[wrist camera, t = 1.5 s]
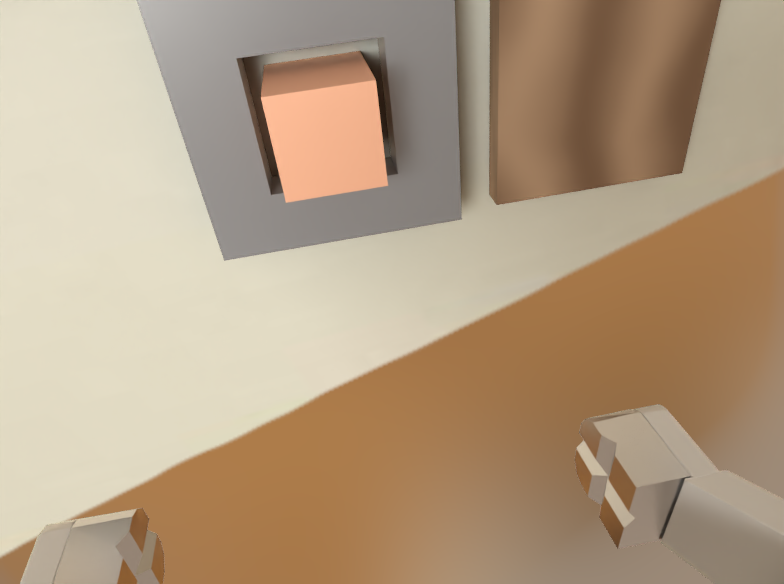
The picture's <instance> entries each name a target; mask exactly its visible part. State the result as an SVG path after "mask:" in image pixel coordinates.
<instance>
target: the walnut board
mask: <svg viewBox="0 0 784 584" xmlns="http://www.w3.org/2000/svg"><path fill="white" fill-rule="evenodd" d="M720 2H721V0H490V157H489V195H490V196H491V197H492V199H493V200H494V202H495V203H496V204H497V205H499V204H505V203H511V202H517V201H522V200H528V199H534V198H540V197H546V196H551V195H557V194H563V193H569V192H575V191H580V190H586V189H592V188H598V187H604V186H609V185H615V184H621V183H627V182H633V181H638V180H644V179H650V178H656V177H662V176H667V175H673V174H679V173H682V171H683V166H684V162H685V157H686V153H687V149H688V144H689V140H690V135H691V131H692V126H693V122H694V117H695V113H696V109H697V104H698V100H699V95H700V91H701V86H702V82H703V78H704V73H705V69H706V64H707V60H708V55H709V51H710V47H711V42H712V38H713V33H714V29H715V24H716V20H717V16H718V11H719V7H720Z"/></svg>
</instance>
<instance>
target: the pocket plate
mask: <svg viewBox="0 0 784 584" xmlns="http://www.w3.org/2000/svg"><path fill="white" fill-rule="evenodd" d="M137 3H138V6H139V9H140V12H141V15H142V18H143V21H144V24H145V27H146V30H147V32H148V35H149V38H150V41H151V44H152V47H153V50H154V53H155V56H156V59H157V62H158V65H159V68H160V71H161V74H162V77H163V80H164V83H165V86H166V89H167V92H168V95H169V98H170V101H171V104H172V107H173V110H174V113H175V116H176V119H177V121H178V124H179V127H180V130H181V133H182V136H183V139H184V142H185V145H186V148H187V151H188V154H189V157H190V160H191V163H192V166H193V169H194V172H195V175H196V178H197V181H198V184H199V187H200V190H201V193H202V196H203V199H204V202H205V205H206V208H207V210H208V213H209V216H210V219H211V222H212V225H213V228H214V231H215V234H216V237H217V240H218V243H219V246H220V249H221V252H222V255H223V258H224V261H225V260H230V259H236V258H242V257H248V256H253V255H259V254H265V253H271V252H276V251H282V250H288V249H294V248H299V247H305V246H311V245H317V244H322V243H328V242H334V241H340V240H345V239H351V238H357V237H363V236H369V235H374V234H380V233H386V232H392V231H397V230H403V229H409V228H415V227H420V226H426V225H432V224H438V223H443V222H449V221H455V220H461V219H462V218H461V185H460V152H459V120H458V87H457V54H456V22H455V0H137ZM373 38H378V46H379V55H380V64H381V73H382V83H383V92H384V101H385V110H386V119H387V128H388V138H389V147H390V156H391V157H389V158H385V163H386V172H387V181H388V186H383V187H377V188H372V189H366V190H360V191H354V192H348V193H342V194H336V195H330V196H324V197H318V198H312V199H306V200H300V201H294V202H288V203H286V201H285V196H284V192H283V188H282V184H281V180H280V176H273V177H272V176H271V172H270V168H269V164H268V160H267V156H266V152H265V148H264V144H263V140H262V136H261V132H260V128H259V124H258V120H257V116H256V112H255V108H254V104H253V100H252V96H251V92H250V88H249V84H248V80H247V76H246V72H245V68H244V64H243V60H242V58H243V57H250V56H257V55H264V54H271V53H277V52H284V51H291V50H298V49H305V48H312V47H318V46H325V45H332V44H339V43H346V42H353V41H359V40H366V39H373Z"/></svg>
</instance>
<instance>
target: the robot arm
mask: <svg viewBox="0 0 784 584" xmlns="http://www.w3.org/2000/svg"><path fill="white" fill-rule="evenodd" d="M579 433H580V435H581V436H582V438H583V439H584V441H583V442H582V443H581V444H580V445H579V446H578V447H577V448H576V453H575V466H576V472H577V475H578V478H579V481H580V483H581V485H582V487H583V489H584V491H585V493H586V494H587V496H588V497H589V498H591V499H592V500H594V501H596V502H597V503H599V504H600V505H601V509H600V515H599V518H600V519H601V521H602V523H603V524H604V526H605V528H606V530H607V531H608V533H609V535H610V537H611V538H612V540H613V542H614V544H615V545H616V547H617V549H620V548H626V547H631V546H636V545H640V544H645V543H651V542H655V541H660V540H662V541H661V543H662V544H663V545H664V546H665V547H667V548H668V549H669V550H671V551H672V552H673V553H675V554H676V555H677V556H678V557H680V558H681V559H682V560H684V561H685V562H686V563H688V564H689V565H690V566H692V567H693V568H694V569H696V570H697V571H698V572H700V573H701V574H702V575H704V576H705V577H706V578H707V579H709V580H710V581H711V582H713V583H714V584H784V499H782V498H780V497H779V496H777V495H774V494H773V493H771V492H769V491H767V490H765V489H763V488H761V487H759V486H757V485H755V484H753V483H751V482H750V481H748V480H746V479H744V478H742V477H740V476H738V475H736V474H734V473H732V472H730V471H728V470H723V471H719V470H718V469H717V468H716V467H715V465H714V464H713V463H712V462H711V461H710V459H709V458H708V457H707V456H706V455H705V454H704V452H703V451H702V450H701V449H700V448H699V447H698V445H697V444H696V443H695V442H694V441H693V439H692V438H691V437H690V436H689V435H688V434H687V432H686V431H685V430H684V429H683V428H682V427H681V426H680V424H679V423H678V422H677V421H676V420H675V418H674V417H673V416H672V415H671V414H670V413H669V411H668V410H667V409H666V408H665V407H663V406H661V405H659V404H658V405H653V406H647V407H643V408H638V409H634V410H632V409H629V410H625V411H620V412H616V413H611V414H606V415H601V416H597V417H592V418H587V419H585V420H584V421H583V422H582V423H581V427H580V431H579ZM148 523H149V518H148V516H147V515H146V513H145V512H144V510H143V508H140V509H134V510H129V511H122V512H116V513H111V514H105V515H99V516H93V517H87V518H82V519H76V520H71V521H65V522H60V523H55V524H50V525H46V526H45V528H44V529H43V530H42V531H41V533H40V534H39V535H38V537H37V540H36V543H35V545H34V548H33V551H32V553H31V556H30V558H29V561H28V564H27V566H26V569H25V572H24V574H23V577H22V579H21V582H20V584H163V579H164V572H165V571H164V552H163V548H162V544H161V541H160V539H159V537H158V535H157V534H156V533H153V532H151V531H148V530H147V527H148Z"/></svg>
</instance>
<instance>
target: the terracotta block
mask: <svg viewBox="0 0 784 584" xmlns="http://www.w3.org/2000/svg"><path fill="white" fill-rule="evenodd" d="M261 101H262V105H263V109H264V113H265V117H266V121H267V126H268V130H269V134H270V138H271V142H272V146H273V151H274V155H275V159H276V163H277V167H278V171H279V176H280V180H281V184H282V188H283V192H284V196H285V201H286V203H288V202H294V201H300V200H306V199H312V198H318V197H324V196H330V195H336V194H342V193H348V192H354V191H360V190H366V189H372V188H377V187H383V186H388V181H387V172H386V163H385V155H384V146H383V137H382V129H381V120H380V111H379V103H378V94H377V85H376V79H375V77H374V76H373V74H372V72H371V70H370V68H369V67H368V65H367V63H366V61H365V59H364V58H363V56H362V54H361V52H360V51H356V52H349V53H343V54H336V55H329V56H322V57H316V58H309V59H302V60H295V61H288V62H282V63H275V64H268V65H264V71H263V81H262V91H261Z"/></svg>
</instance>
